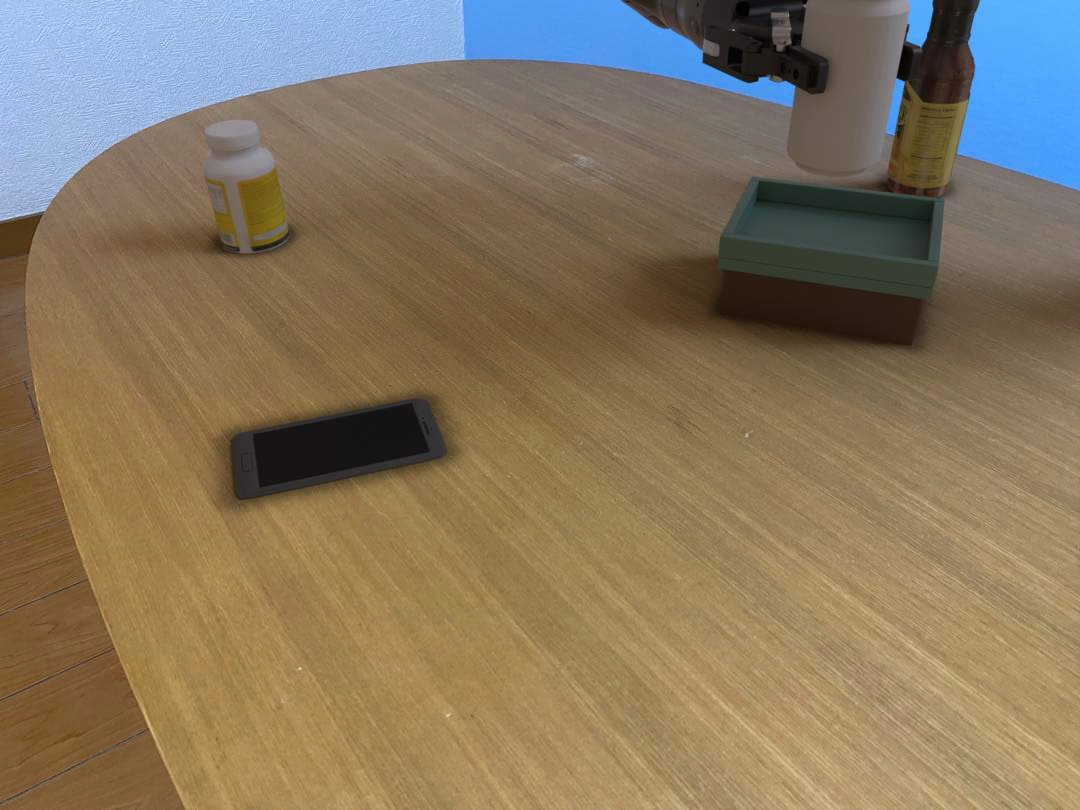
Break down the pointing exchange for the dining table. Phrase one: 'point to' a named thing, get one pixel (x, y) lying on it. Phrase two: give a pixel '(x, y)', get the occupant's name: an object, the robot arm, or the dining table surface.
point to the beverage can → (848, 85)
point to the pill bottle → (244, 188)
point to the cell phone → (334, 448)
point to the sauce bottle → (934, 104)
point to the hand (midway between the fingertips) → (869, 71)
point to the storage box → (831, 258)
